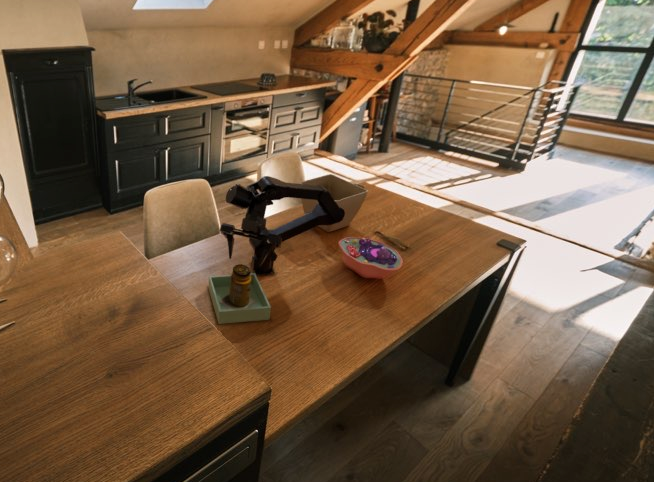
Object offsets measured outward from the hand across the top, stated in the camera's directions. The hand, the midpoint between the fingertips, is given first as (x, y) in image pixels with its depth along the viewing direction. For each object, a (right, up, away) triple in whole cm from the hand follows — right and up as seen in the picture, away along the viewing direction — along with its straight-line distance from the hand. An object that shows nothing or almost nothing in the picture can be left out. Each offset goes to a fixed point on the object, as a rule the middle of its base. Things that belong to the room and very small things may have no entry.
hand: (244, 262), depth 116 cm
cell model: (+45, -7, +16) cm, 48 cm away
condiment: (-2, -12, +1) cm, 13 cm away
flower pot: (+43, +6, +45) cm, 63 cm away
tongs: (+63, 0, +33) cm, 71 cm away
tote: (-2, -13, +2) cm, 13 cm away
